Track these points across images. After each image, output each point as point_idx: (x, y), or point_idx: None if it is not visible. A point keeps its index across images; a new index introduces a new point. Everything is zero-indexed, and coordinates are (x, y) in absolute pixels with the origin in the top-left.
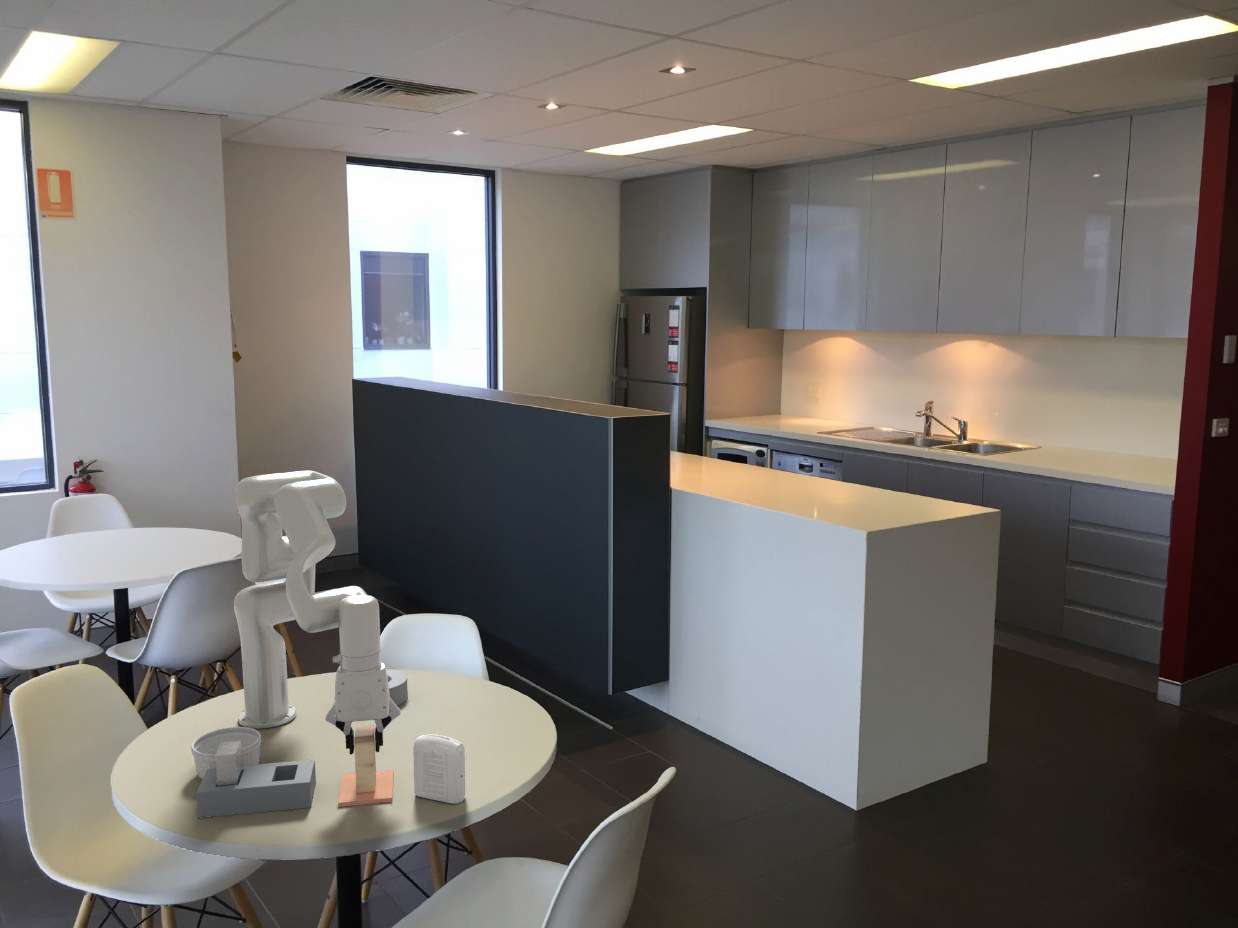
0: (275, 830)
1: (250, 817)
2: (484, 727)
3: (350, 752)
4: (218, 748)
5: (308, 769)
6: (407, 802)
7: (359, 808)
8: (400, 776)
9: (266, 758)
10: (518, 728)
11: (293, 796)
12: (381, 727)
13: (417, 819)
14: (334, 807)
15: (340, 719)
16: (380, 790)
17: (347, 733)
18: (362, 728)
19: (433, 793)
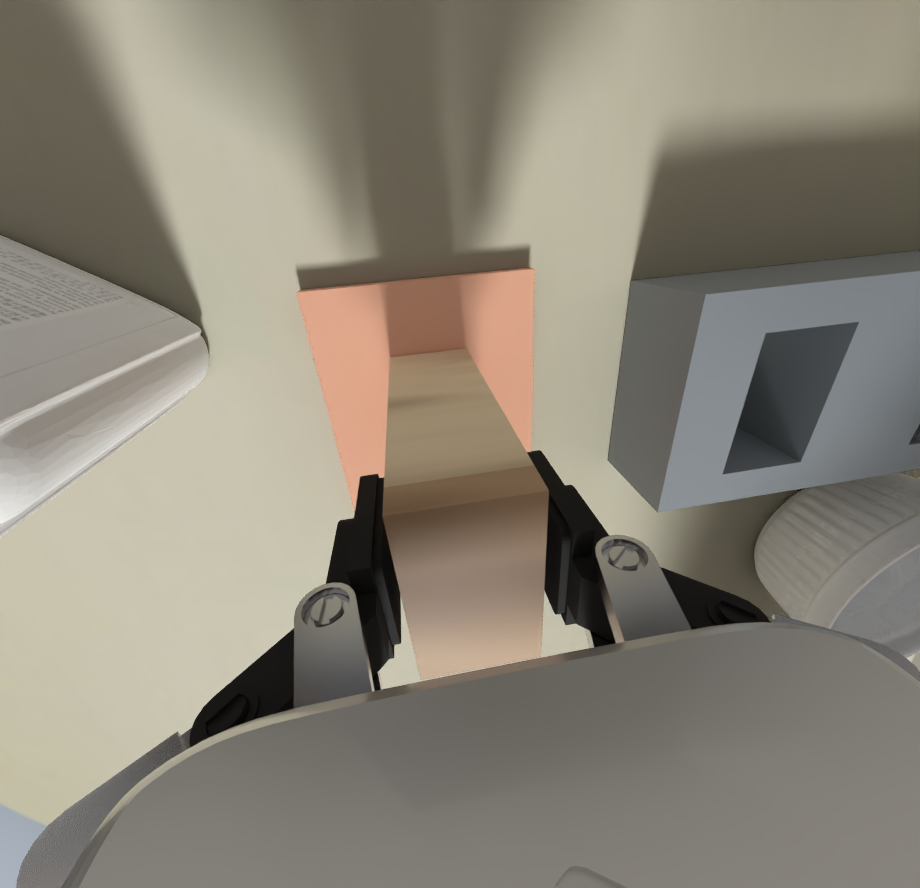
0: (788, 55)
1: (844, 219)
2: (151, 746)
3: (538, 454)
4: (867, 597)
5: (691, 429)
6: (222, 270)
7: (437, 237)
8: (326, 492)
9: (721, 586)
10: (28, 753)
11: (728, 279)
12: (316, 625)
13: (76, 31)
14: (542, 263)
15: (838, 642)
16: (368, 366)
17: (609, 549)
18: (494, 634)
19: (47, 265)
